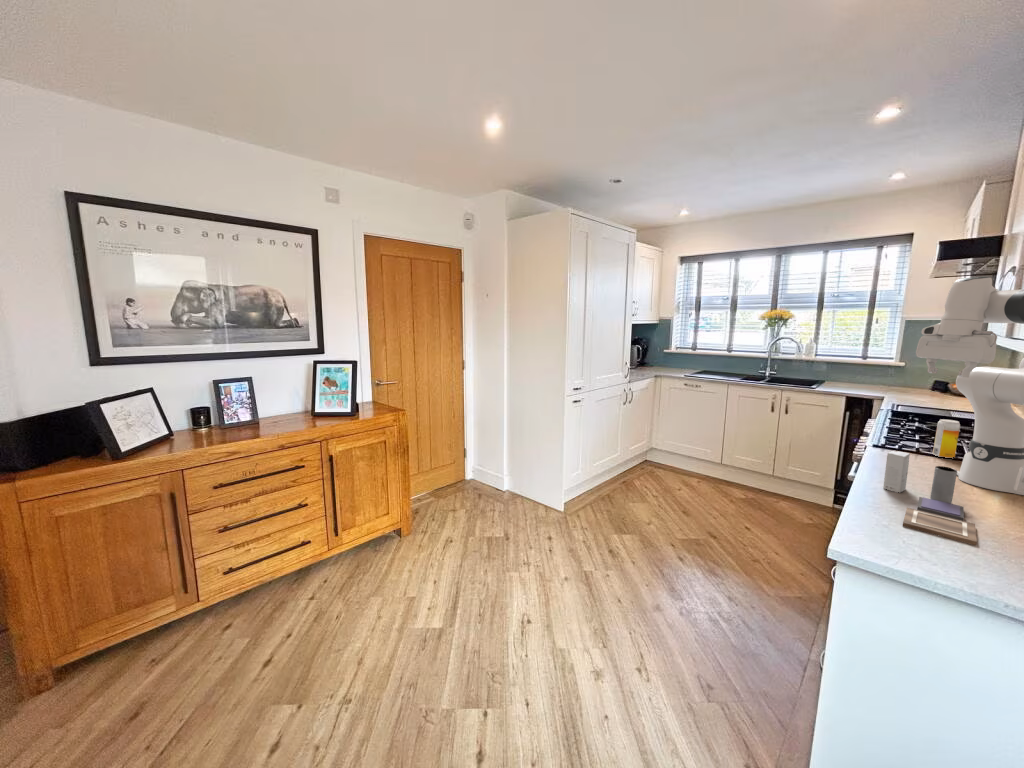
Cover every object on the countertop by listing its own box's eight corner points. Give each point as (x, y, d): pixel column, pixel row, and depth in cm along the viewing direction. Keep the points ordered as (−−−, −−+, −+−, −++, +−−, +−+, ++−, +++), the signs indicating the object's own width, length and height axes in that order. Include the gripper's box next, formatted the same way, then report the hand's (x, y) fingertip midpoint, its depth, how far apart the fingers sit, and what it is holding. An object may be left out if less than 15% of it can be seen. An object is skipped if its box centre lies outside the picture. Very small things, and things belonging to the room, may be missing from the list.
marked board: (906, 510, 117) (907, 506, 116) (974, 527, 107) (975, 523, 107) (902, 526, 108) (903, 521, 108) (976, 545, 98) (976, 541, 98)
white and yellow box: (959, 459, 159) (965, 422, 157) (943, 459, 160) (949, 422, 157) (943, 454, 165) (949, 419, 163) (928, 454, 166) (933, 419, 163)
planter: (929, 500, 123) (934, 468, 122) (930, 496, 126) (936, 464, 124) (951, 505, 120) (956, 472, 118) (952, 501, 123) (957, 468, 121)
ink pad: (918, 500, 123) (919, 495, 123) (962, 510, 117) (963, 505, 116) (916, 510, 116) (917, 506, 116) (963, 522, 110) (964, 516, 110)
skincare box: (900, 493, 128) (905, 456, 126) (881, 488, 132) (887, 453, 130) (906, 489, 132) (911, 453, 130) (888, 484, 135) (893, 449, 134)
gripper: (1009, 332, 113) (995, 380, 115) (936, 331, 134) (925, 372, 136) (986, 329, 113) (973, 378, 115) (917, 329, 134) (906, 370, 136)
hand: (946, 375), depth 126 cm, fingers open, 8 cm apart
